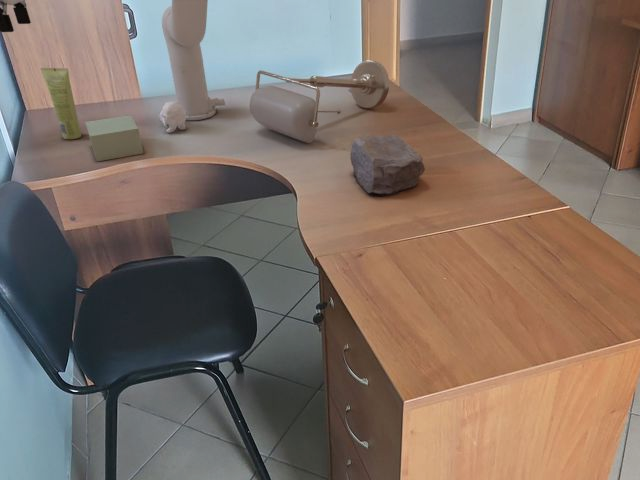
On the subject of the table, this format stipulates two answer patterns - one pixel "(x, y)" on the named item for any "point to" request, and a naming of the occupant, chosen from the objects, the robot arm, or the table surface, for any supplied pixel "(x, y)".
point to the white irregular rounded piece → (173, 116)
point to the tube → (62, 101)
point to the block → (114, 137)
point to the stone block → (385, 164)
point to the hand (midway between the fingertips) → (16, 27)
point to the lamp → (301, 111)
